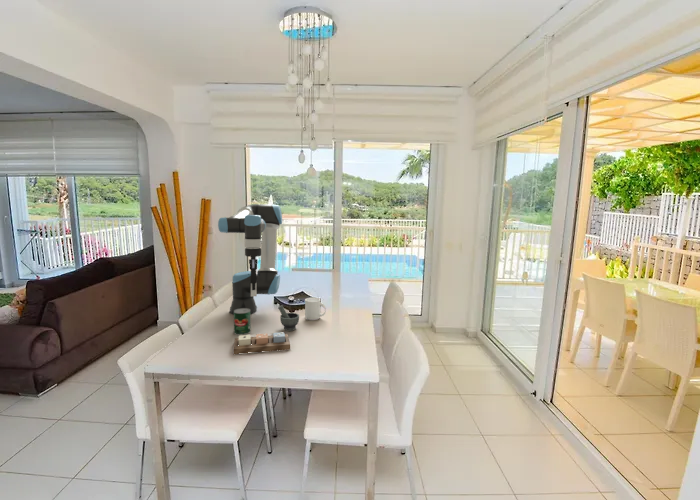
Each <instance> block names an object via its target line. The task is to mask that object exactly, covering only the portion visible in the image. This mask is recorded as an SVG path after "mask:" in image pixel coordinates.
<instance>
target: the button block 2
mask: <svg viewBox="0 0 700 500" xmlns="http://www.w3.org/2000/svg"><path fill="white" fill-rule="evenodd" d="M268 336H269V335H268V332H267V333H258V334H257V333H256V334H255V337H256V344H267V343H268Z"/></svg>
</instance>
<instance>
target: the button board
mask: <svg viewBox="0 0 700 500" xmlns="http://www.w3.org/2000/svg"><path fill="white" fill-rule="evenodd" d="M284 334H285V333H284ZM251 344H252V345H243V346H238V345H239V337H236V338H234V343H233V351H232V352H233V355H234V354H235V355H240V354H239V353H247V354H249V353H248V352H258V353H263V352H262V351H269V352H278V351H279V350H280V351H288V350H290V351H291V342H290V337H289V335H288V333H286V334H285V342H279V343H274V342H273V334H272V335H268V343H267V344H256V336H251ZM277 350H278V351H277ZM280 351H279V352H280Z"/></svg>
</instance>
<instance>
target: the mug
mask: <svg viewBox="0 0 700 500" xmlns="http://www.w3.org/2000/svg"><path fill="white" fill-rule="evenodd" d="M304 299H305V300H304V316H305V317H304V318H305V319H306V320H308V321H317V320H319V319H320V318H321V317H324V315H326V311H327V310H326V309H327V308H326V306H325V305H324V303H323V302H321V298H319V297H307V298H304ZM321 307H323V308H324V312H323V313H321Z"/></svg>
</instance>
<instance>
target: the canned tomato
mask: <svg viewBox="0 0 700 500" xmlns="http://www.w3.org/2000/svg"><path fill="white" fill-rule="evenodd" d="M233 330H234V331H233V333H234V334H235V335H238V336H240V335H243V334H244V335H249V333H251V332H252V331H251V314H250V309H248V308H240V309H236V310H234V314H233Z"/></svg>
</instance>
